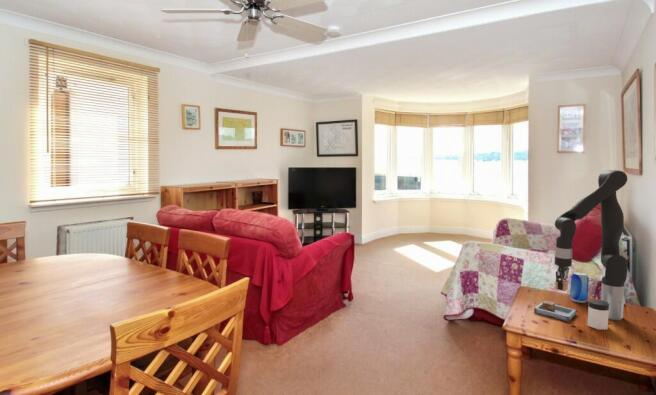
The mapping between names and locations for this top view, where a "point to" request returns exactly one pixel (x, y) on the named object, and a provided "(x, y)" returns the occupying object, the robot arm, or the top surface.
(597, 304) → the jar
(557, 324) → the top surface
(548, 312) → the tray
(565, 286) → the block terracotta
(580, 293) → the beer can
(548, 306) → the block walnut
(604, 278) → the robot arm
